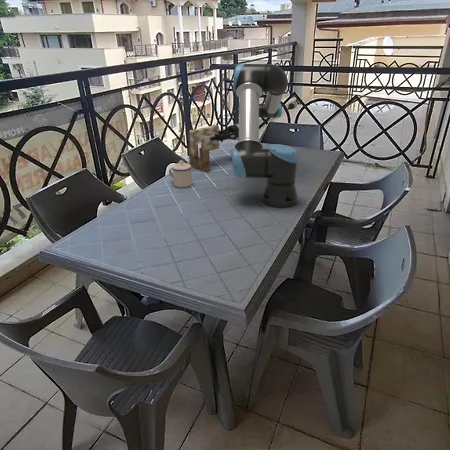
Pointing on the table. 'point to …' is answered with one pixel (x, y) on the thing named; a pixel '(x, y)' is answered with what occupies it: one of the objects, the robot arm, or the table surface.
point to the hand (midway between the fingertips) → (202, 139)
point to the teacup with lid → (181, 174)
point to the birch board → (200, 134)
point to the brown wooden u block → (200, 159)
